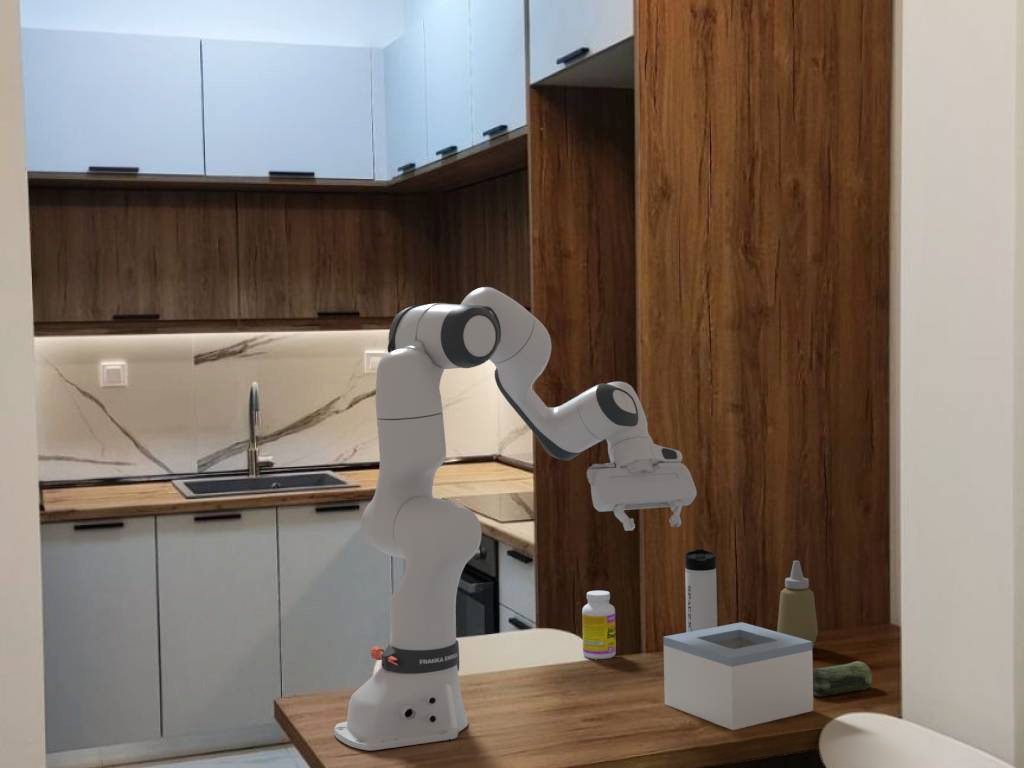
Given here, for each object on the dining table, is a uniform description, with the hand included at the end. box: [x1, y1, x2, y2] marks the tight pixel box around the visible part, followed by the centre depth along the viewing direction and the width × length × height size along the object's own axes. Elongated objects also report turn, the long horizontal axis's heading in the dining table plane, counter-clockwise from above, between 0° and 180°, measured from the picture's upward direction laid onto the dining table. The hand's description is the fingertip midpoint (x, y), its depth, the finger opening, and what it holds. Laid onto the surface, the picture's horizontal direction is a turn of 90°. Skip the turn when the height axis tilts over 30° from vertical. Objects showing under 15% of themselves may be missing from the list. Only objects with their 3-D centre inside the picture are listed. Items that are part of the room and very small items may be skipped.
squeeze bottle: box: [776, 560, 819, 650], centre depth 265 cm, size 8×8×18 cm
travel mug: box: [684, 548, 718, 633], centre depth 268 cm, size 6×7×20 cm
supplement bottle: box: [581, 590, 617, 660], centre depth 264 cm, size 7×7×13 cm
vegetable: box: [813, 660, 873, 698], centre depth 235 cm, size 14×5×5 cm, turn 115°
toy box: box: [663, 622, 814, 731], centre depth 227 cm, size 18×18×12 cm
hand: (653, 527), depth 242 cm, fingers open, 8 cm apart
